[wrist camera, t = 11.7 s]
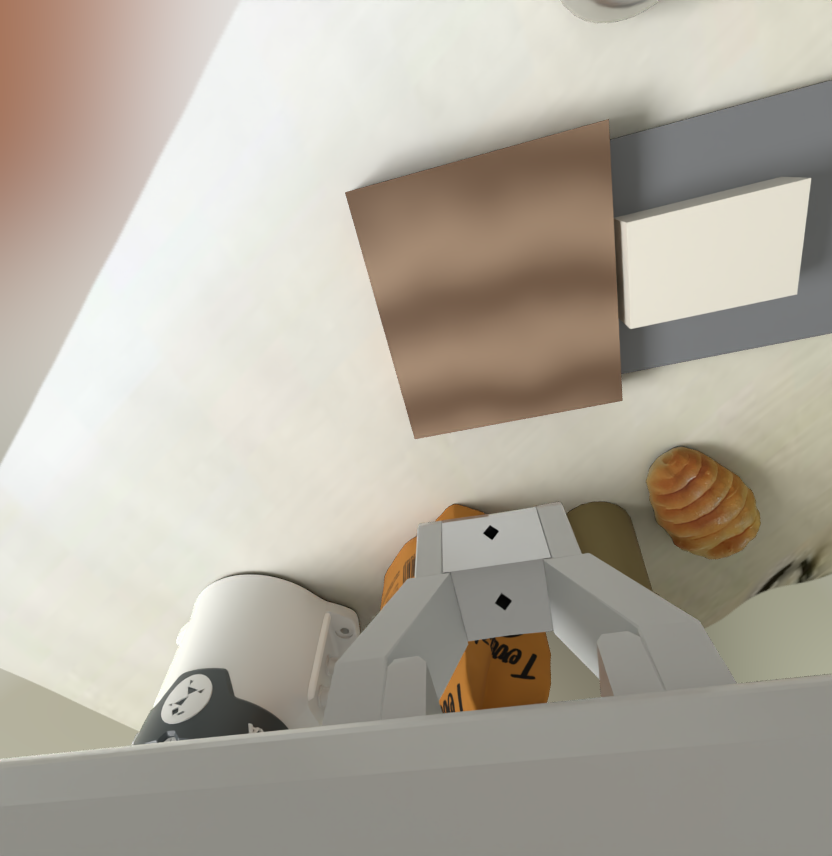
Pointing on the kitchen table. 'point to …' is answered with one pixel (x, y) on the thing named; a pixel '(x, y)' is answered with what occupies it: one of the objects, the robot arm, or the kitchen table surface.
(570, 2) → the plastic bottle
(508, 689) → the coffee package
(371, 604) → the kitchen table surface
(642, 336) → the mat
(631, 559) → the cork
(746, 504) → the pastry
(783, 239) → the tile
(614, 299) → the stand
